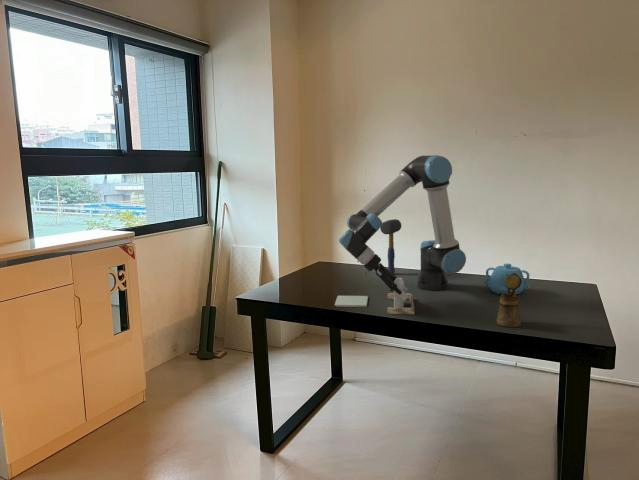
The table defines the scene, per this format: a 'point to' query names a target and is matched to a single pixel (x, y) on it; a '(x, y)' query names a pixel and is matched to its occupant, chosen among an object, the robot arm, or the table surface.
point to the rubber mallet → (391, 239)
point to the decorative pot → (499, 277)
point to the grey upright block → (397, 299)
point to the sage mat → (351, 301)
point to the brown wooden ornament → (510, 303)
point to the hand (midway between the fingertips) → (406, 294)
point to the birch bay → (401, 310)
